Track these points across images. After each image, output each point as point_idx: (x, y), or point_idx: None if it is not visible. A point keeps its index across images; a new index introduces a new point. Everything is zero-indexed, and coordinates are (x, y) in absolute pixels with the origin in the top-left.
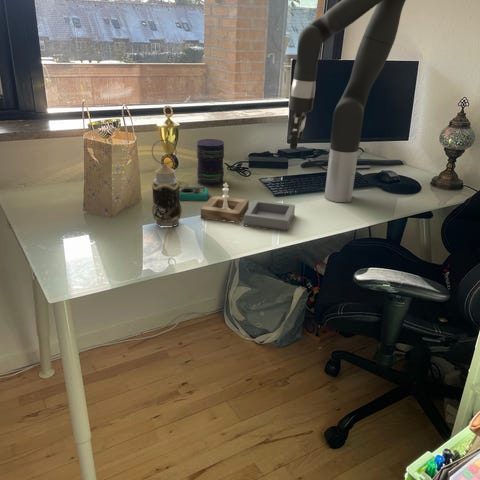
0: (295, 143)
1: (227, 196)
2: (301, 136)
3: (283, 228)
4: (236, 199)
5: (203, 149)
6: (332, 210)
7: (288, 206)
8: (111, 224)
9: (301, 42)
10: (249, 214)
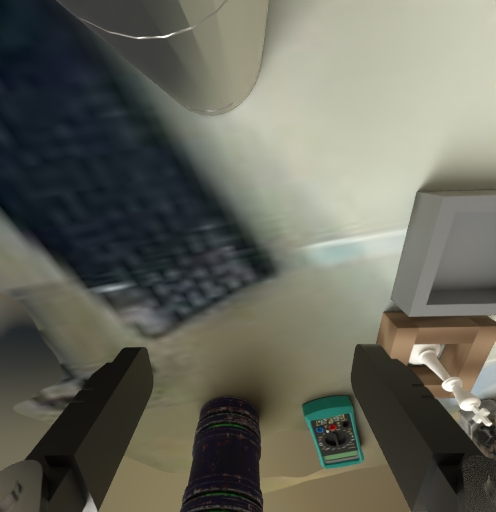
0: (428, 394)
1: (458, 381)
2: (107, 393)
3: None
4: (397, 353)
5: None
6: (352, 58)
7: (452, 215)
8: None
9: None
10: None
